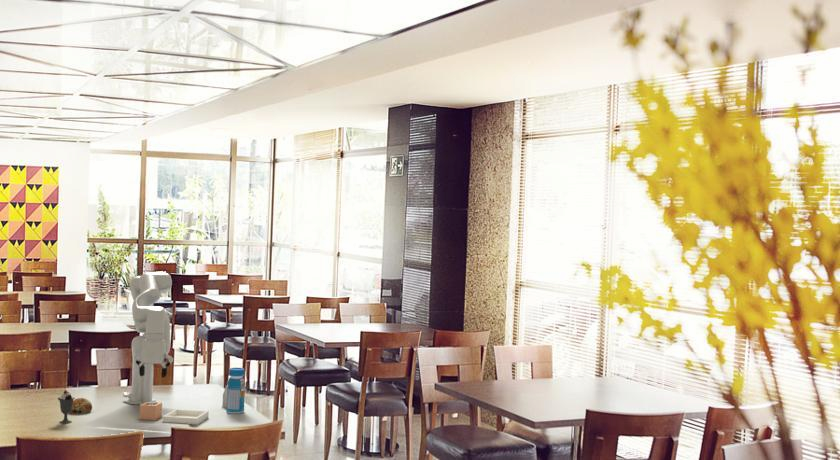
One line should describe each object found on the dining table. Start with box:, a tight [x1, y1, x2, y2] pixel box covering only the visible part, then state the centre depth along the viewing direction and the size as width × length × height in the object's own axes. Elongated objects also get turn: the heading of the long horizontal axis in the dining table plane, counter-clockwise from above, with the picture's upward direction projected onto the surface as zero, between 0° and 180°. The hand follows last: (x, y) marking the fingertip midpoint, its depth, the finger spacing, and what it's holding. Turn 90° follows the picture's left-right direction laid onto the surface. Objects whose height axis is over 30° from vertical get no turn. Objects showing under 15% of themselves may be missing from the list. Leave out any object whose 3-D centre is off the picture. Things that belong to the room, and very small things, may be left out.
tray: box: [161, 408, 209, 427], centre depth 355 cm, size 15×15×3 cm
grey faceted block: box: [221, 385, 228, 409], centre depth 385 cm, size 4×7×10 cm, turn 62°
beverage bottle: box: [225, 367, 246, 415], centre depth 376 cm, size 8×8×20 cm
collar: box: [138, 401, 163, 421], centre depth 354 cm, size 7×7×6 cm
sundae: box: [57, 385, 76, 425], centre depth 343 cm, size 7×7×15 cm
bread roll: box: [68, 397, 93, 415], centre depth 363 cm, size 10×10×8 cm
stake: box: [134, 402, 163, 422], centre depth 354 cm, size 10×10×7 cm
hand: (152, 376), depth 355 cm, fingers open, 9 cm apart
